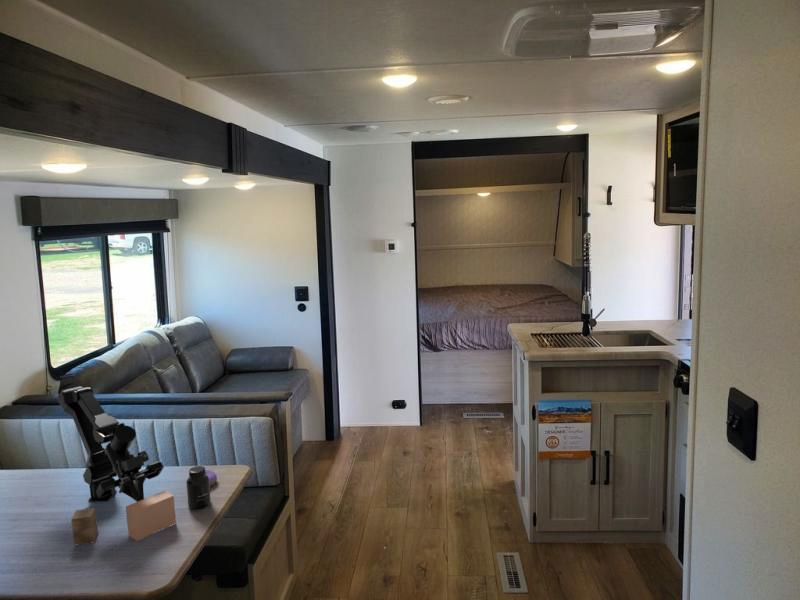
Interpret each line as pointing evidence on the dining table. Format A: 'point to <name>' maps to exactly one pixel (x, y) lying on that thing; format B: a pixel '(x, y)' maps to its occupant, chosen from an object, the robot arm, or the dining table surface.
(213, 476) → the donut
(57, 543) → the dining table surface
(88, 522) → the walnut block
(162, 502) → the terracotta block
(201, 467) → the supplement bottle
